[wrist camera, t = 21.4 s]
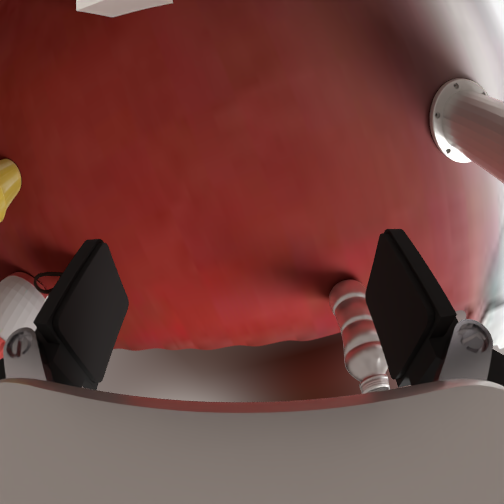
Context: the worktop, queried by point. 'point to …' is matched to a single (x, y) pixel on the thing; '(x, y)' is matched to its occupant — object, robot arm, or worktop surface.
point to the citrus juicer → (18, 304)
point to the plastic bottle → (359, 336)
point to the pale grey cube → (117, 6)
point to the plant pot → (8, 184)
